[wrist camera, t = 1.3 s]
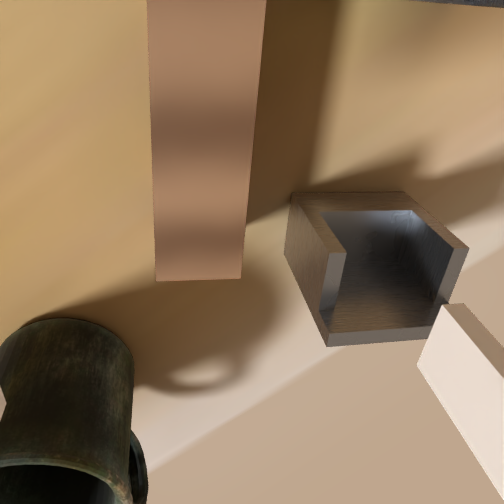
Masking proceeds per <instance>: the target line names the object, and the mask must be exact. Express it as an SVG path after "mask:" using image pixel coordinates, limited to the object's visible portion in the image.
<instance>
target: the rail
mask: <svg viewBox="0 0 504 504" xmlns="http://www.w3.org/2000/svg"><path fill="white" fill-rule="evenodd" d="M265 10H266V0H147V20H148V51H149V81H150V112H151V143H152V174H153V204H154V235H155V266H156V281H184V280H214V279H241V269H242V258H243V248H244V237H245V226H246V215H247V204H248V194H249V183H250V172H251V161H252V150H253V140H254V129H255V118H256V107H257V96H258V86H259V75H260V64H261V53H262V42H263V32H264V21H265Z"/></svg>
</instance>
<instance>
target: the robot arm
mask: <svg viewBox="0 0 504 504" xmlns="http://www.w3.org/2000/svg"><path fill="white" fill-rule="evenodd" d="M417 367H418V368H419V370H420V371H421V373H422V374H423V376H424V377H425V379H426V381H427V382H428V384H429V385H430V387H431V388H432V390H433V391H434V393H435V394H436V396H437V397H438V399H439V401H440V402H441V404H442V405H443V407H444V408H445V410H446V411H447V413H448V415H449V416H450V418H451V419H452V421H453V422H454V424H455V425H456V427H457V429H458V430H459V432H460V433H461V435H462V436H463V438H464V440H465V441H466V443H467V444H468V446H469V447H470V449H471V450H472V452H473V454H474V455H475V457H476V458H477V460H478V461H479V463H480V464H481V466H482V467H483V469H484V471H485V472H486V474H487V475H488V477H489V478H490V480H491V482H492V483H493V485H494V486H495V488H496V489H497V491H498V492H499V494H500V495H501V497H502V499H503V500H504V348H503V346H501V344H500V343H499V342H498V341H497V340H496V339H495V338H494V337H493V335H492V334H491V333H490V332H489V331H488V330H487V329H486V328H485V327H484V326H483V324H482V323H481V322H480V321H479V320H478V319H477V318H476V317H475V315H474V314H473V313H472V312H471V311H470V310H469V309H468V308H467V306H466V305H465V304H464V303H460V304H445V305H442V306H441V308H440V311H439V313H438V316H437V318H436V320H435V323H434V325H433V328H432V330H431V332H430V335H429V337H428V340H427V342H426V344H425V347H424V349H423V352H422V354H421V356H420V359H419V361H418V364H417ZM5 406H6V401H5V398H4V395H3V392H2V390H1V387H0V420H1V418H2V415H3V412H4V409H5Z"/></svg>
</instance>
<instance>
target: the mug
mask: <svg viewBox="0 0 504 504" xmlns="http://www.w3.org/2000/svg"><path fill="white" fill-rule="evenodd" d="M134 371H135V370H134V361H133V358H132V355H131V353H130V351H129V350H128V348H127V347H126V346H125V345H124V343H123V342H122V341H121V340H120V339H119V338H118V337H117V336H115V335H114V334H113V333H111V332H110V331H108V330H107V329H105V328H103V327H101V326H99V325H96V324H94V323H91V322H87V321H83V320H78V319H69V318H56V319H48V320H43V321H39V322H35V323H33V324H30V325H28V326H25V327H23V328H21V329H19V330H18V331H16V332H14V333H13V334H11V335H10V336H9V337H8V338H7V339H6V340H5V341H4V342H3V344H2V345H1V346H0V387H1V390H2V392H3V395H4V398H5V401H6V406H5V409H4V412H3V415H2V418H1V420H0V504H146V501H147V494H148V477H147V468H146V463H145V458H144V454H143V450H142V448H141V445H140V442H139V440H138V439H137V437H136V436H135V434H134V433H133V431H132V430H131V418H132V403H133V387H134Z"/></svg>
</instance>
